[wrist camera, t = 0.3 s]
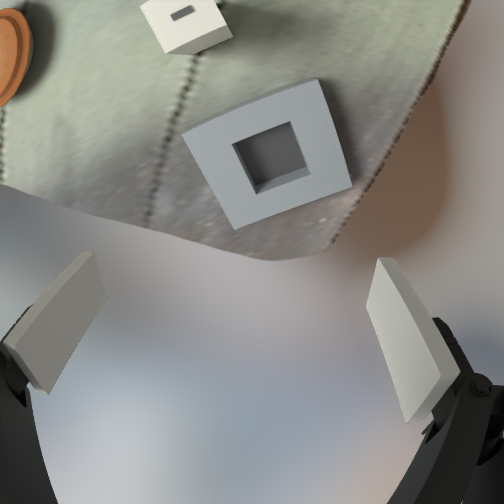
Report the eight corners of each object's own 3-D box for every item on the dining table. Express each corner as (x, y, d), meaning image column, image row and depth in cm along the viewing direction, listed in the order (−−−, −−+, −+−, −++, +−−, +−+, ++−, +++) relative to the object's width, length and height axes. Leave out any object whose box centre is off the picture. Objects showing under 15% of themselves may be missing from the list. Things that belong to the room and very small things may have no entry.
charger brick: (192, 55, 27) (165, 53, 17) (174, 21, 24) (138, 5, 14) (233, 37, 26) (226, 24, 16) (214, 3, 23) (199, -25, 13)
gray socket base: (235, 217, 40) (234, 229, 38) (186, 128, 32) (181, 134, 30) (345, 177, 37) (352, 186, 34) (311, 77, 29) (317, 79, 26)
